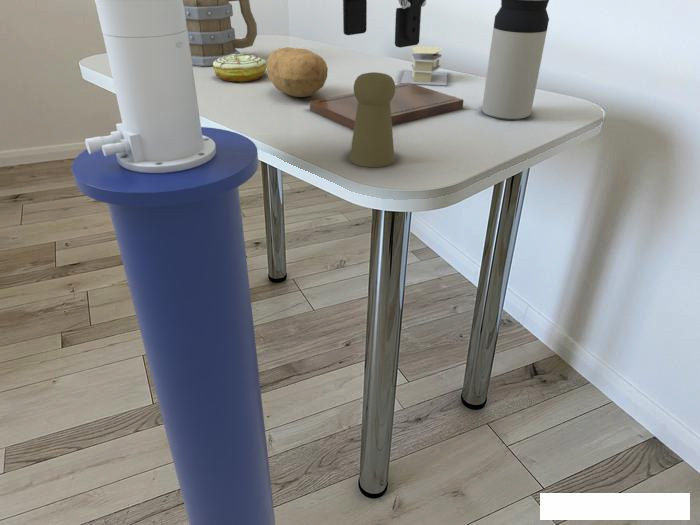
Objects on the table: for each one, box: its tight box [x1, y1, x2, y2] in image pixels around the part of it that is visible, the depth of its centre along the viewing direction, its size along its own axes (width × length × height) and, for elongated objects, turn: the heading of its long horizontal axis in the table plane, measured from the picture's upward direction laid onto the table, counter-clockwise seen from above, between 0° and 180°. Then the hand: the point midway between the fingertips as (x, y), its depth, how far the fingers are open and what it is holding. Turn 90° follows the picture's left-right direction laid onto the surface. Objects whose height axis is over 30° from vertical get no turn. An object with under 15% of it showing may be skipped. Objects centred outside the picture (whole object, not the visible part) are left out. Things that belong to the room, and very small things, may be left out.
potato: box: [266, 47, 329, 98], centre depth 96 cm, size 10×14×8 cm
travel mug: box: [481, 0, 550, 121], centre depth 86 cm, size 8×8×18 cm
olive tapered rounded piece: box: [349, 71, 396, 168], centre depth 70 cm, size 6×6×11 cm
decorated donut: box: [212, 53, 267, 83], centre depth 108 cm, size 10×11×4 cm
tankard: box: [183, 0, 258, 67], centre depth 119 cm, size 20×13×15 cm, turn 114°
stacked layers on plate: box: [400, 46, 448, 86], centre depth 108 cm, size 10×9×6 cm
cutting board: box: [309, 82, 465, 131], centre depth 91 cm, size 22×14×2 cm, turn 127°
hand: (379, 39), depth 65 cm, fingers open, 9 cm apart
